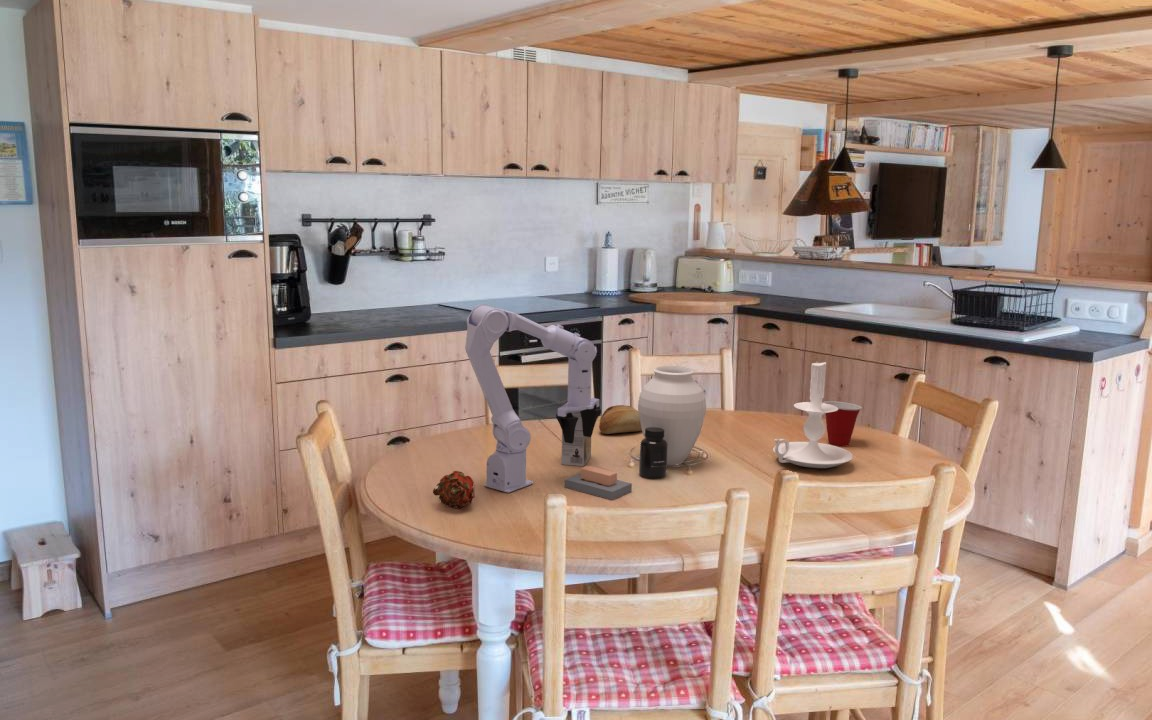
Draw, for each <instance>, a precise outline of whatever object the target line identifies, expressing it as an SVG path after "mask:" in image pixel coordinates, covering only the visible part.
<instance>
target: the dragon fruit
mask: <svg viewBox="0 0 1152 720" xmlns="http://www.w3.org/2000/svg"><path fill="white" fill-rule="evenodd" d="M474 482H475V481H474V479H473V478H472V477H471V476H469V475H465V474H464V472H462V471H459V470H454V471H452V473H449V474H445V475H444V476H442V477H441V478H440V479H439V482H438V483H437V484H436V487H437V488H433V489H432V494H433V495H434V496H438V498H439V501H440V503H441V504H443V505H444V506H445V507H451V508H453V509H456V510H457V509H458V510H460V509H461V508H463V507H465V506H466V505H468V504H469V505H470V504H471V503H472V502H473V500H474V498H476V497H475V487H474V484H475V483H474Z"/></svg>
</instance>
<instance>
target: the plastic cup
mask: <svg viewBox="0 0 1152 720" xmlns="http://www.w3.org/2000/svg"><path fill="white" fill-rule="evenodd" d="M822 403H825V404H830V405H833V406H836V407H837V408H838V410H837V411H834V412H828V413H825V422H826V425H825V426H826V433H827V441H828V445H833V446H837V447H847V446H850V443H851V440H852V436H853V433H854V429H855V425H856V421H857V418H858V415H859V413H860V411H861V410H862V408H863V407H862V406H861V405H858V404H855V403H850V402H844V401H835V400H830V401H829V400H827V401H826V400H825V401H822Z"/></svg>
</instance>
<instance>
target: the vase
mask: <svg viewBox="0 0 1152 720" xmlns="http://www.w3.org/2000/svg"><path fill="white" fill-rule="evenodd" d="M653 372H654V376H653V377H652V378H651V379H650V380H648V382H647V383H646V384H645V385H644V386H643V387H642V389H641V392H640V394H639V396H638V400H637V402H638V404H637V411H638V412H639V418H640V423H641V428H642V430H641V431H642V435H643V437H644V438H646V437H645V429H646V428H649V427H657V428H662V429H664V438H663V439H664V440H665V441H666V442H667V444H668V447H667V464H666V466H677V465H676V464H680V465H682V464H683V463H682V462H684V461H685V460H686V459H687V458H688V456H689V455H690V453H691V452H692V450H693V448H694V447H695V445H696V443H697V440H698V439H699V436H700V434H701V431H702V428H703V425H704V421H705V417H706V413H707V402H706V396H705V394H704V391H703V388H702V387H701V386H700V385H699V384H698V383H697V382H696V381H695V380H694V378H693V374H694V373H695V372H694V370H692V369H690V368H689V367H685V366H677V365H675V366H674V365H664V366H663V365H662V366H658V367H655V368H653ZM644 438H643V439H644ZM681 463H682V464H681Z"/></svg>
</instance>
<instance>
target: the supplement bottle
mask: <svg viewBox="0 0 1152 720" xmlns="http://www.w3.org/2000/svg"><path fill="white" fill-rule="evenodd" d="M645 437H646V438H643V439H641V441H640V445H639V447H640V448H639V449H640V450H639V465H638V466H639V467H638V473H639V475H640V477H642V478H646V479H652V480H657V479H659V480H660V479H663V478H664V477H666V475H667V465H666V464H667V447H668V444H667V442H666V441H665V440H664V439H663V438H664V429H662V428H657V427H649V428H646V429H645Z"/></svg>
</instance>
